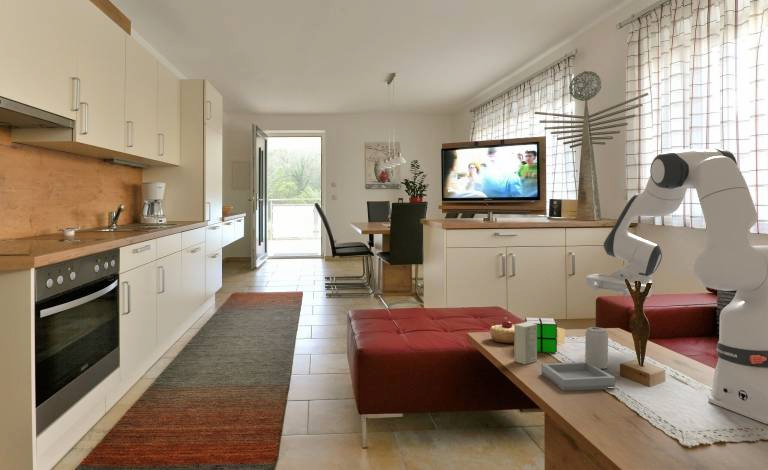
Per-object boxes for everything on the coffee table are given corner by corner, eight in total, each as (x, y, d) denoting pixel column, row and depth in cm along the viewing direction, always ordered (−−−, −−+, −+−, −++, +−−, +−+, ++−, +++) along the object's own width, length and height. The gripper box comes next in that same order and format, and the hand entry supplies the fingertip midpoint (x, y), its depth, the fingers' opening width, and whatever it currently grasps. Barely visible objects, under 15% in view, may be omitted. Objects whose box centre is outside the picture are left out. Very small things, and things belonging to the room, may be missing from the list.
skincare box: (526, 358, 166) (526, 321, 165) (537, 361, 162) (537, 323, 161) (513, 361, 162) (513, 324, 162) (524, 364, 158) (524, 326, 158)
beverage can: (603, 364, 158) (604, 326, 157) (610, 370, 152) (611, 331, 151) (582, 364, 159) (582, 326, 158) (588, 370, 152) (589, 331, 152)
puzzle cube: (553, 346, 181) (554, 318, 180) (556, 353, 171) (557, 324, 171) (524, 344, 183) (525, 317, 183) (526, 352, 173) (526, 323, 173)
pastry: (497, 346, 181) (497, 321, 181) (485, 338, 193) (485, 315, 193) (528, 344, 183) (528, 320, 183) (515, 336, 195) (515, 313, 194)
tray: (614, 388, 136) (615, 377, 136) (564, 390, 135) (564, 379, 135) (587, 371, 151) (587, 362, 151) (541, 374, 149) (541, 363, 149)
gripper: (594, 267, 178) (578, 275, 168) (657, 276, 164) (644, 285, 154) (593, 284, 179) (577, 293, 169) (656, 295, 165) (643, 305, 155)
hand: (610, 290), depth 161 cm, fingers open, 8 cm apart
